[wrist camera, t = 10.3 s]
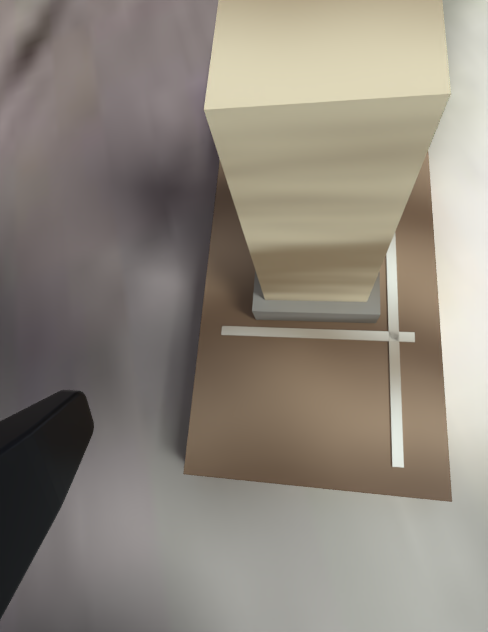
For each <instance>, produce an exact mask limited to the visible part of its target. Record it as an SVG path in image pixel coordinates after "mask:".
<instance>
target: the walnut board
mask: <svg viewBox="0 0 488 632" xmlns="http://www.w3.org/2000/svg"><path fill="white" fill-rule="evenodd" d="M254 279H255V267H254V264H253V261H252V258H251V255H250V251H249V248H248V245H247V242H246V239H245V236H244V233H243V230H242V227H241V223H240V220H239V217H238V214H237V211H236V208H235V205H234V202H233V199H232V195H231V192H230V189H229V186H228V183H227V180H226V177H225V174H224V171H223V167H222V164H221V161H220V162H219V170H218V179H217V188H216V196H215V205H214V214H213V222H212V231H211V240H210V248H209V257H208V266H207V274H206V283H205V292H204V300H203V309H202V318H201V326H200V335H199V343H198V352H197V361H196V369H195V378H194V387H193V395H192V404H191V413H190V421H189V430H188V439H187V447H186V456H185V465H184V473H183V474H187V475H197V476H207V477H216V478H226V479H236V480H246V481H255V482H265V483H275V484H284V485H294V486H304V487H314V488H323V489H333V490H343V491H352V492H362V493H372V494H382V495H391V496H401V497H411V498H420V499H430V500H440V501H450V502H452V494H451V480H450V465H449V450H448V436H447V421H446V406H445V392H444V377H443V362H442V348H441V333H440V318H439V303H438V289H437V274H436V259H435V245H434V230H433V215H432V201H431V186H430V171H429V157H428V152H427V154H426V157H425V159H424V161H423V164H422V166H421V169H420V171H419V174H418V176H417V179H416V181H415V184H414V186H413V189H412V191H411V194H410V196H409V199H408V201H407V204H406V206H405V209H404V211H403V214H402V216H401V219H400V221H399V223H398V226H397V228H396V231H395V233H394V236H393V238H392V241H391V243H390V246H389V248H388V251H387V253H386V256H385V258H384V261H383V263H382V266H381V268H380V316H379V318H378V320H377V322H376V323H346V322H313V321H280V320H256V319H255V317H254V314H253V312H252V305H253V292H254Z"/></svg>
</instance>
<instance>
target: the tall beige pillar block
mask: <svg viewBox="0 0 488 632" xmlns="http://www.w3.org/2000/svg"><path fill="white" fill-rule="evenodd" d="M450 95H451V89H450V79H449V68H448V57H447V46H446V36H445V25H444V14H443V3H442V0H219V2H218V10H217V17H216V24H215V32H214V39H213V47H212V54H211V61H210V69H209V76H208V84H207V91H206V98H205V106H204V111H205V115H206V118H207V121H208V124H209V127H210V130H211V133H212V136H213V139H214V143H215V146H216V149H217V152H218V155H219V158H220V161H221V164H222V167H223V171H224V174H225V177H226V180H227V183H228V186H229V189H230V192H231V195H232V199H233V202H234V205H235V208H236V211H237V214H238V217H239V220H240V223H241V227H242V230H243V233H244V236H245V239H246V242H247V245H248V248H249V251H250V255H251V258H252V261H253V264H254V267H255V279H254V292H253V305H252V312H253V314H254V317H255V319H256V320H280V321H313V322H346V323H376V322H377V320H378V318H379V316H380V268H381V266H382V263H383V261H384V258H385V256H386V253H387V251H388V248H389V246H390V243H391V241H392V238H393V236H394V233H395V231H396V228H397V226H398V223H399V221H400V219H401V216H402V214H403V211H404V209H405V206H406V204H407V201H408V199H409V196H410V194H411V191H412V189H413V186H414V184H415V181H416V179H417V176H418V174H419V171H420V169H421V166H422V164H423V161H424V159H425V157H426V154H427V152H428V149H429V147H430V144H431V142H432V139H433V137H434V134H435V132H436V129H437V127H438V124H439V122H440V119H441V117H442V114H443V112H444V109H445V107H446V104H447V102H448V99H449V97H450Z"/></svg>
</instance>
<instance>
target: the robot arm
mask: <svg viewBox="0 0 488 632" xmlns="http://www.w3.org/2000/svg"><path fill="white" fill-rule="evenodd" d="M93 429H94V423H93V419H92V415H91V412H90V409H89V405H88V402H87V399H86V396H85V394H84V393H83V392H81V391H74V390H62V391H59V392H57V393H55V394H53V395H51V396H49V397H47V398H45V399H43V400H41V401H39V402H37V403H35V404H34V405H32V406H30V407H28V408H26V409H24V410H22V411H20V412H18V413H16V414H14V415H12V416H10V417H8V418H6V419H4V420H2V421H0V619H1V617H2V615H3V614H4V612H5V610H6V608H7V606H8V604H9V603H10V601H11V599H12V597H13V595H14V593H15V592H16V590H17V588H18V586H19V584H20V582H21V580H22V579H23V577H24V575H25V573H26V571H27V569H28V568H29V566H30V564H31V562H32V560H33V558H34V556H35V555H36V553H37V551H38V549H39V547H40V545H41V544H42V542H43V540H44V538H45V536H46V534H47V533H48V531H49V529H50V527H51V525H52V523H53V521H54V520H55V518H56V516H57V514H58V512H59V510H60V508H61V506H62V504H63V502H64V500H65V497H66V495H67V493H68V491H69V488H70V486H71V484H72V481H73V479H74V477H75V474H76V472H77V469H78V467H79V465H80V462H81V460H82V458H83V455H84V453H85V451H86V448H87V446H88V444H89V441H90V439H91V437H92V434H93Z"/></svg>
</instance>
